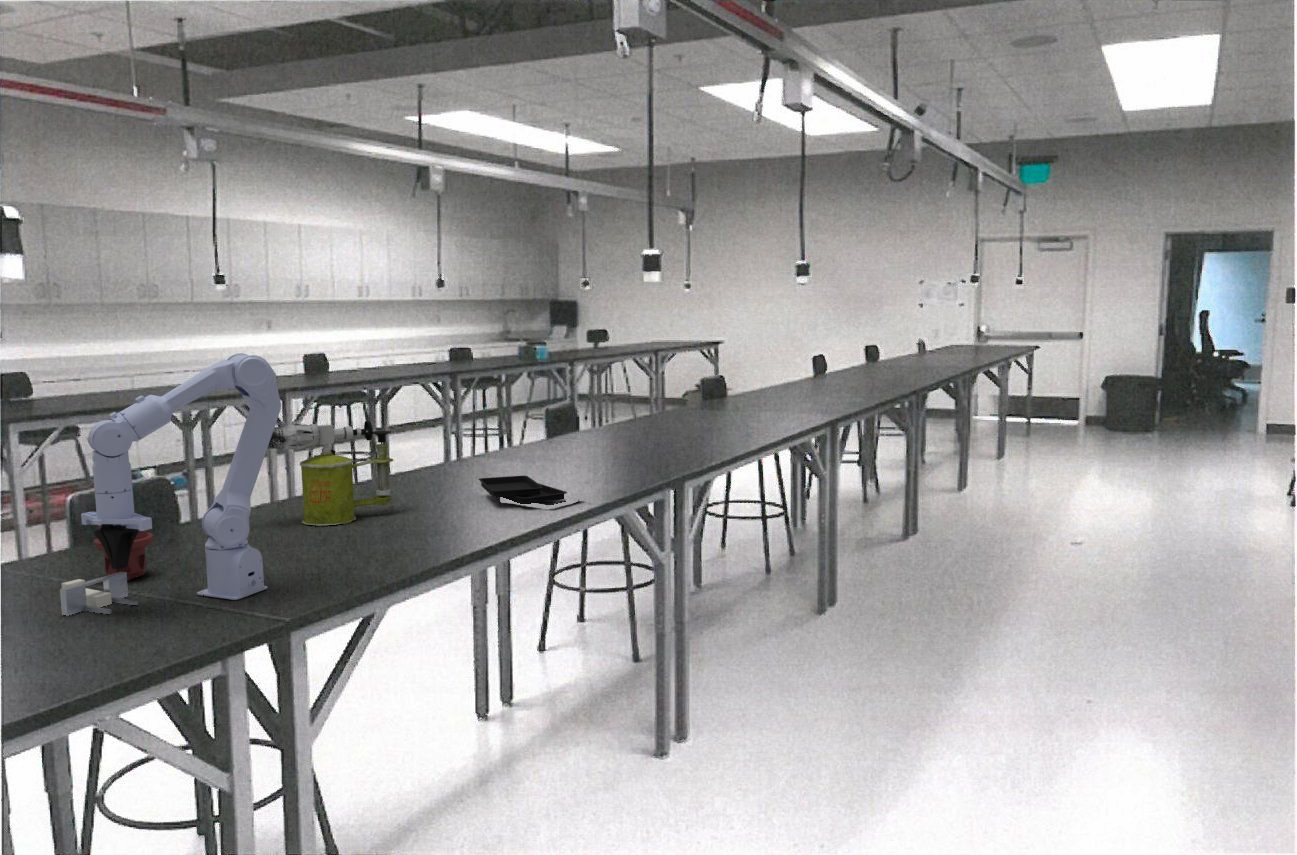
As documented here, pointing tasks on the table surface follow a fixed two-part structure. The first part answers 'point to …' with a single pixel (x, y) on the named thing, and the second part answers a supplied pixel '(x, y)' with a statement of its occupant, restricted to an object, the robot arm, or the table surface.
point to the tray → (521, 489)
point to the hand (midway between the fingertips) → (120, 567)
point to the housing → (76, 594)
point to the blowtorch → (332, 471)
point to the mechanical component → (136, 555)
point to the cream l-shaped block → (92, 595)
